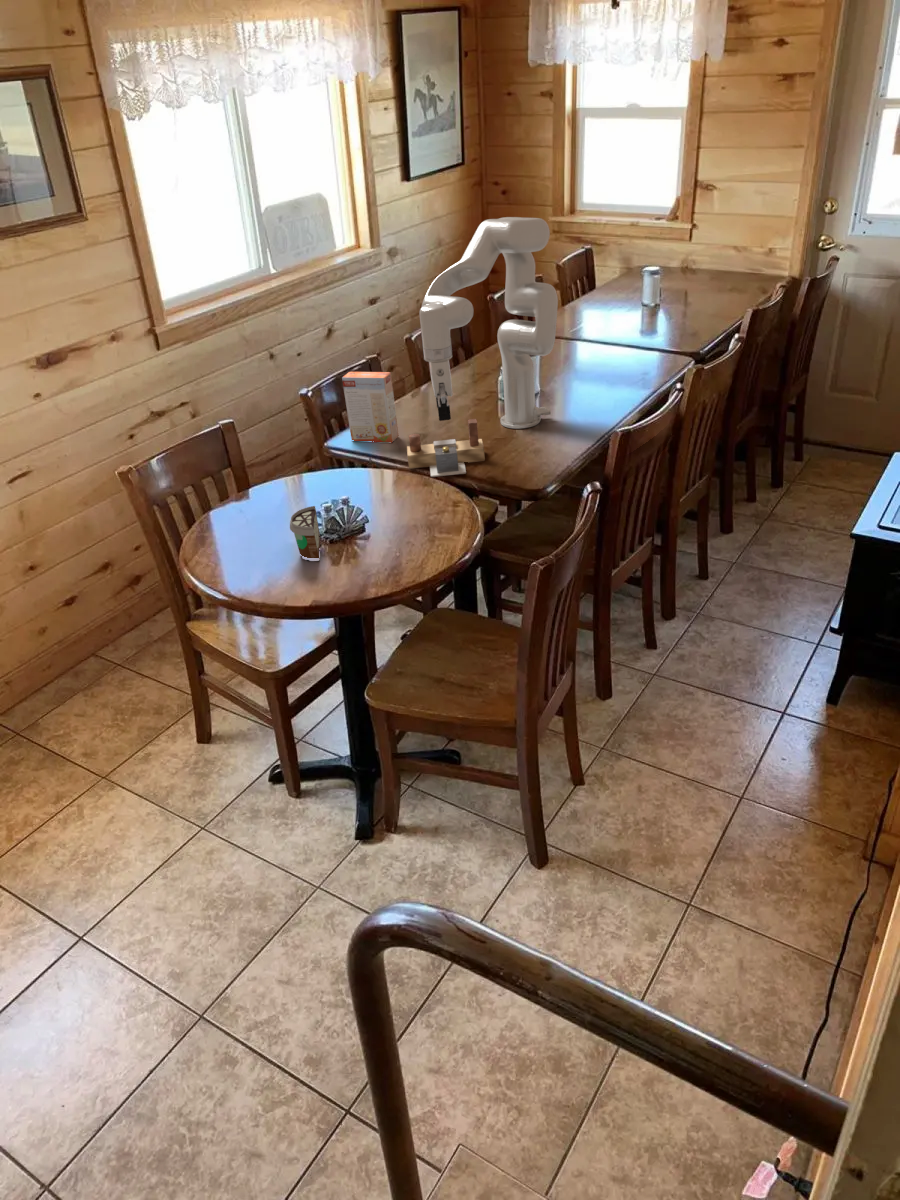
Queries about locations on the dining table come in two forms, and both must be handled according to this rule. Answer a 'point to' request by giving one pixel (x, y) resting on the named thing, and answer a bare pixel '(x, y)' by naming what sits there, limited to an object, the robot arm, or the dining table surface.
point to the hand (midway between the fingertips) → (443, 413)
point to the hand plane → (426, 453)
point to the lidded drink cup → (306, 531)
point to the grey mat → (460, 467)
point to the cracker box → (370, 406)
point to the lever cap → (446, 459)
